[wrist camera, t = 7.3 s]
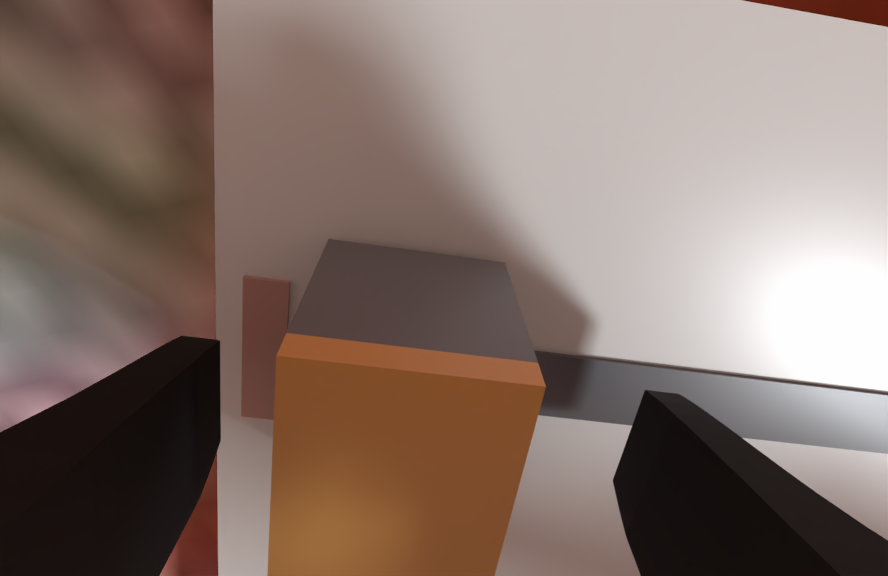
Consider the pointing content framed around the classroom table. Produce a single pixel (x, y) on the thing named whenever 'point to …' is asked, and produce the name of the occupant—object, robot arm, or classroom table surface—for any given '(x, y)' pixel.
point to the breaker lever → (400, 416)
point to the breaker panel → (572, 227)
